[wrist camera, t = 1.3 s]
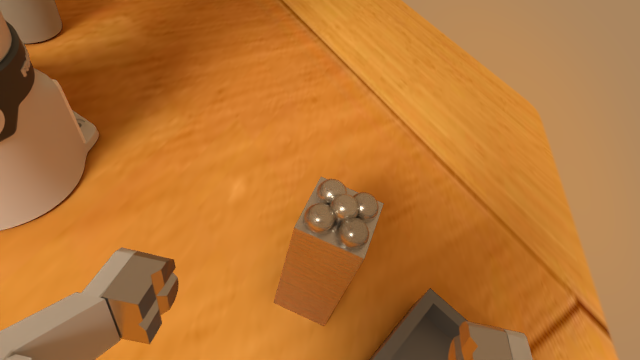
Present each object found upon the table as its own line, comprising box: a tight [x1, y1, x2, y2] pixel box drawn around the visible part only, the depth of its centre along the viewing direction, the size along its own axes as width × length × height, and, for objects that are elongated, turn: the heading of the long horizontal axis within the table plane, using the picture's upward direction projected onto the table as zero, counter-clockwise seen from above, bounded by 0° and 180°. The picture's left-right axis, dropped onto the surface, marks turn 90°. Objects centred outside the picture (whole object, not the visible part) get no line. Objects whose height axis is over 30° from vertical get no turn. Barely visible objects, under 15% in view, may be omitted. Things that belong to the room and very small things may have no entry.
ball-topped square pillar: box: [274, 177, 384, 326], centre depth 32 cm, size 5×5×15 cm
